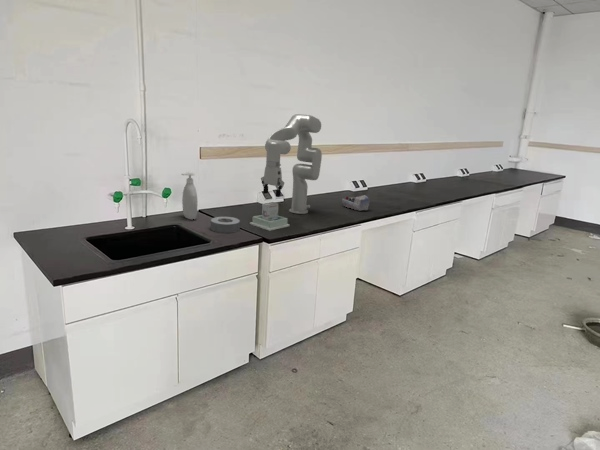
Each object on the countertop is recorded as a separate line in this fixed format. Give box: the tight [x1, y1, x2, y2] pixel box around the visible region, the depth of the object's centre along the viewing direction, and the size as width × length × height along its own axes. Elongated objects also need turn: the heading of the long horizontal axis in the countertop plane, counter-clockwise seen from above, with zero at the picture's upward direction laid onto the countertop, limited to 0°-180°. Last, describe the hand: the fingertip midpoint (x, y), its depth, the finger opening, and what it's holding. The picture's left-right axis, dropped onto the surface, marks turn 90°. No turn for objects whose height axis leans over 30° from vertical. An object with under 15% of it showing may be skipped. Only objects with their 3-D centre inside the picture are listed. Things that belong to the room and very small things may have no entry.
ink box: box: [261, 201, 279, 221], centre depth 232 cm, size 9×5×12 cm, turn 140°
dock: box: [249, 214, 291, 232], centre depth 233 cm, size 16×16×4 cm
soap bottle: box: [181, 170, 198, 221], centre depth 233 cm, size 14×8×27 cm, turn 41°
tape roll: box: [210, 216, 241, 234], centre depth 220 cm, size 15×15×5 cm
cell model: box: [341, 194, 370, 212], centre depth 291 cm, size 13×11×20 cm
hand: (271, 194), depth 230 cm, fingers open, 9 cm apart
